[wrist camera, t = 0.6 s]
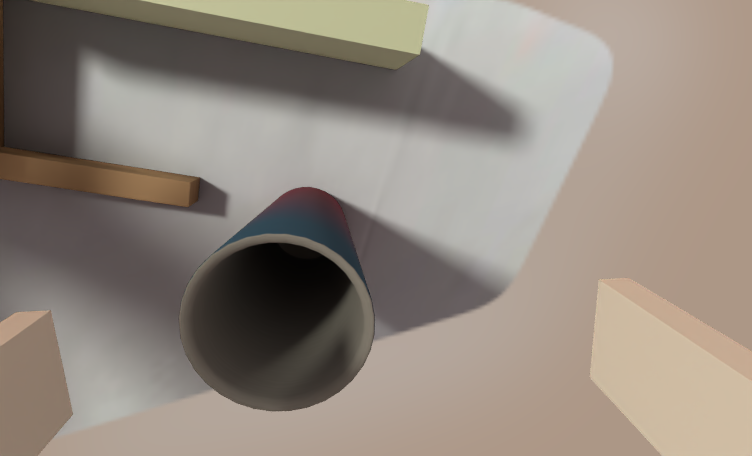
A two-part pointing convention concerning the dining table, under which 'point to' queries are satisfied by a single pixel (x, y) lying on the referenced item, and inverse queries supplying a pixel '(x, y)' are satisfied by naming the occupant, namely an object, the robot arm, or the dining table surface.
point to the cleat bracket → (90, 170)
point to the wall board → (289, 24)
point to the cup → (281, 307)
